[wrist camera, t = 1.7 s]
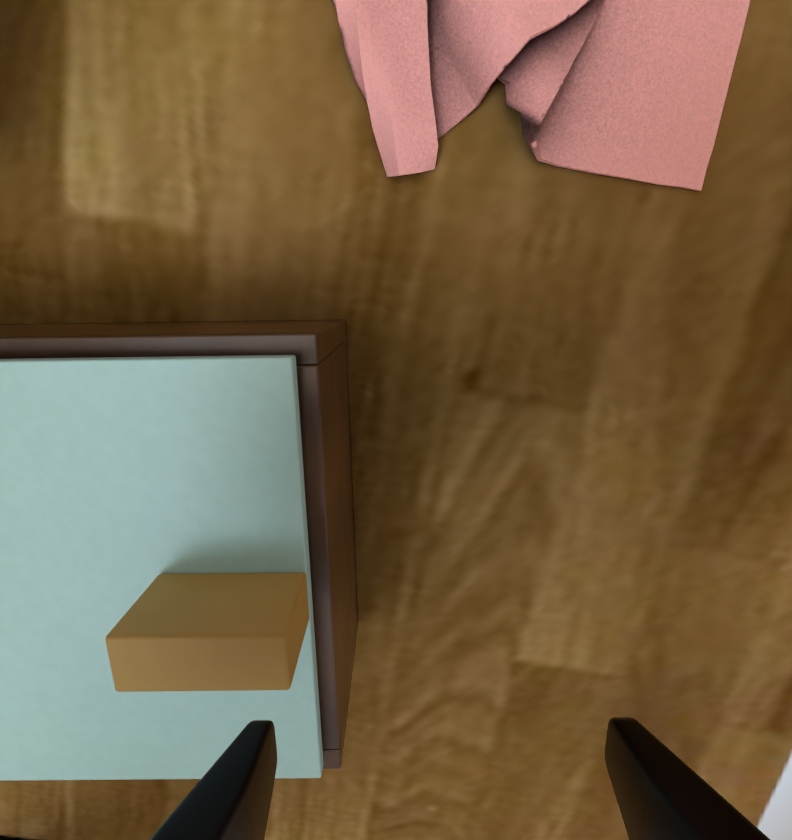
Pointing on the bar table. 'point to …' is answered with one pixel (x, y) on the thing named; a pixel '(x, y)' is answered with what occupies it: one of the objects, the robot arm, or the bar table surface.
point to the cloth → (551, 78)
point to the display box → (321, 449)
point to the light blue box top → (153, 567)
